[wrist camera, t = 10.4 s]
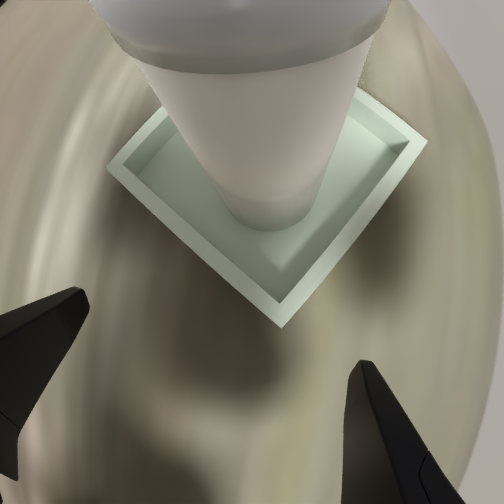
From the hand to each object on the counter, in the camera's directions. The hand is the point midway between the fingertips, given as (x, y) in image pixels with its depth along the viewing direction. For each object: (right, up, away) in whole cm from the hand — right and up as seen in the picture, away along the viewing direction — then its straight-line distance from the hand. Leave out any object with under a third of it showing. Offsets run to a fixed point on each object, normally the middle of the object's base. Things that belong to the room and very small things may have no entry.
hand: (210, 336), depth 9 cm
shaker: (+2, +6, +8) cm, 10 cm away
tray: (+2, +8, +9) cm, 12 cm away
